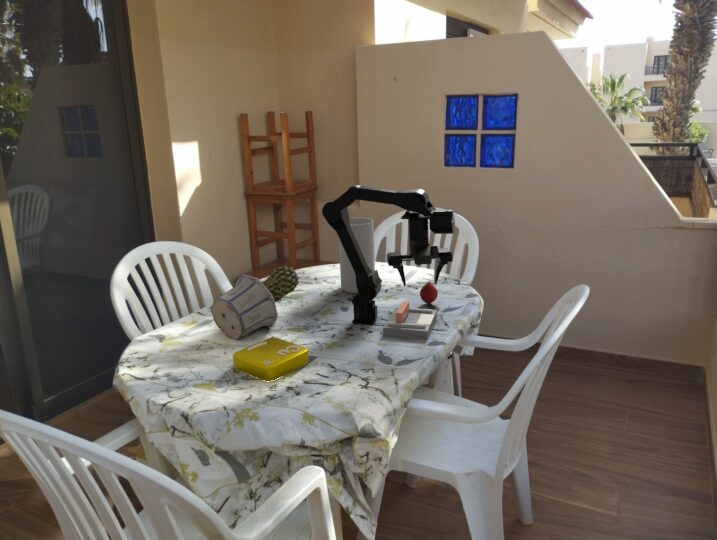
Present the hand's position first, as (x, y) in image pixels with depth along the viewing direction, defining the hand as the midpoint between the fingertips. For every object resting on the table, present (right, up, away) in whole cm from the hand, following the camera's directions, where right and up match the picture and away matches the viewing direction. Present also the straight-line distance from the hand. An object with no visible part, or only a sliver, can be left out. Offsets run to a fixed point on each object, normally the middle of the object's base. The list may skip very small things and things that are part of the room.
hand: (420, 284), depth 170 cm
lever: (-5, -10, +2) cm, 11 cm away
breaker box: (-3, -13, +2) cm, 13 cm away
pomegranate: (+5, -7, +20) cm, 22 cm away
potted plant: (-48, -13, +8) cm, 50 cm away
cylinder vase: (-18, -2, +39) cm, 43 cm away
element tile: (-41, -21, -19) cm, 50 cm away
